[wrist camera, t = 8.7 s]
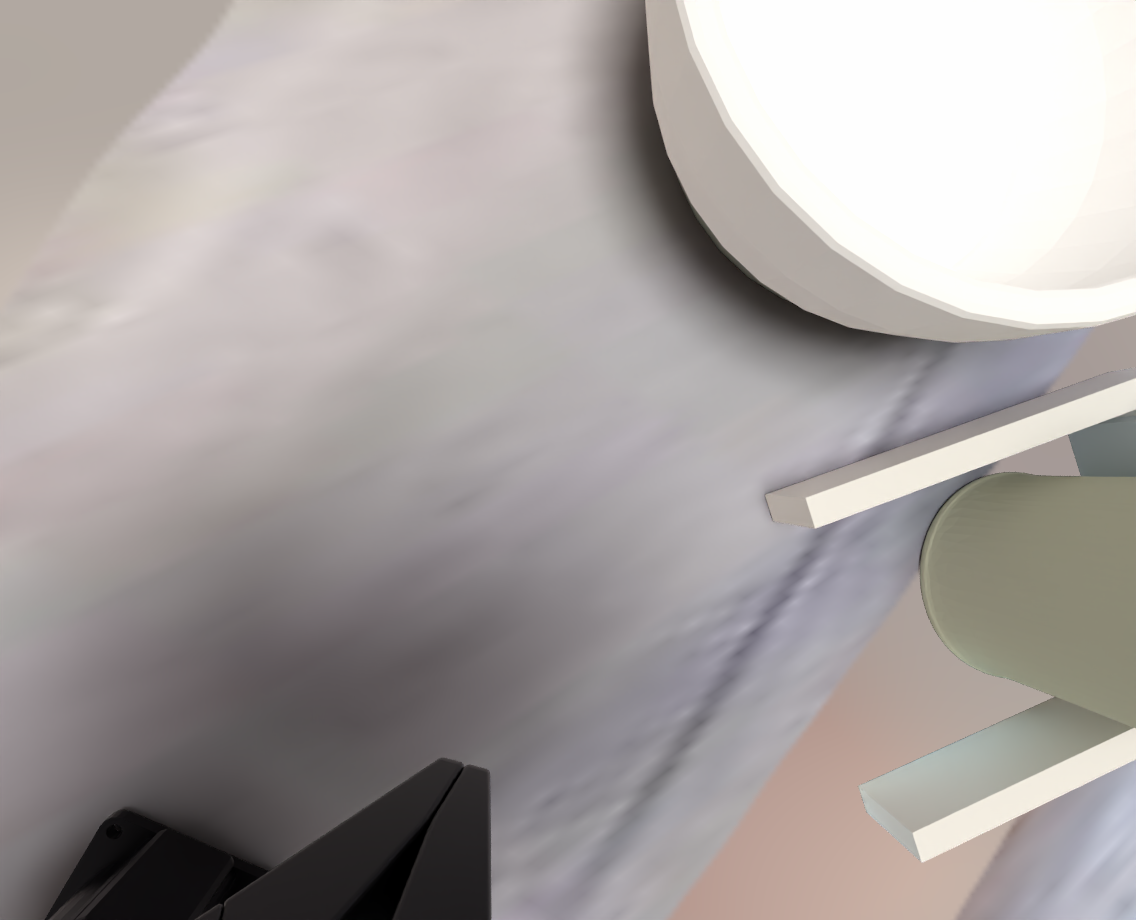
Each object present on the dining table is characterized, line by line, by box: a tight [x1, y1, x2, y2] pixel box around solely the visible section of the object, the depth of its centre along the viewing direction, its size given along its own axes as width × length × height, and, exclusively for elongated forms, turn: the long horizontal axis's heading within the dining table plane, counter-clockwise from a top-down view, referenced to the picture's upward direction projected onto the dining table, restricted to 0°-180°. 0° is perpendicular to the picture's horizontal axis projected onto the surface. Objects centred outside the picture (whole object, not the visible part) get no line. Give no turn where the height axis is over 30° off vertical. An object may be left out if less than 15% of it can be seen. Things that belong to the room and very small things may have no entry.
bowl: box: [645, 0, 1136, 343], centre depth 20 cm, size 22×22×8 cm
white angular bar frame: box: [765, 368, 1136, 863], centre depth 21 cm, size 18×14×5 cm
